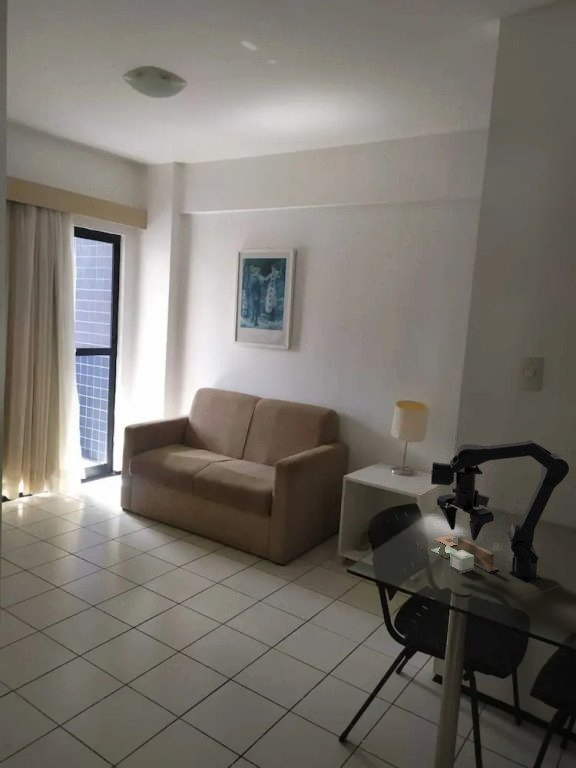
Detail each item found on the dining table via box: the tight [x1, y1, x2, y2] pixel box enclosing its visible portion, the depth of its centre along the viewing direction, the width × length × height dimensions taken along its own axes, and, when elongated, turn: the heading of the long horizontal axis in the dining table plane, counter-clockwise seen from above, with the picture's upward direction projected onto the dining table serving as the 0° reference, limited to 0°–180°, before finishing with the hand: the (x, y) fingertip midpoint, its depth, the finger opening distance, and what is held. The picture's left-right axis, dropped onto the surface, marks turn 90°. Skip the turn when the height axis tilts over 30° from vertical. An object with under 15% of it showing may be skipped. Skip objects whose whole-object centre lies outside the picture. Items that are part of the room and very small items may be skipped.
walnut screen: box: [456, 536, 499, 572], centre depth 184 cm, size 14×4×6 cm, turn 28°
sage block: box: [449, 550, 475, 571], centre depth 179 cm, size 5×5×5 cm
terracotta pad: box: [434, 534, 457, 547], centre depth 200 cm, size 7×7×1 cm
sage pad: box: [431, 545, 457, 555], centre depth 191 cm, size 7×7×1 cm
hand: (463, 534), depth 178 cm, fingers open, 9 cm apart
